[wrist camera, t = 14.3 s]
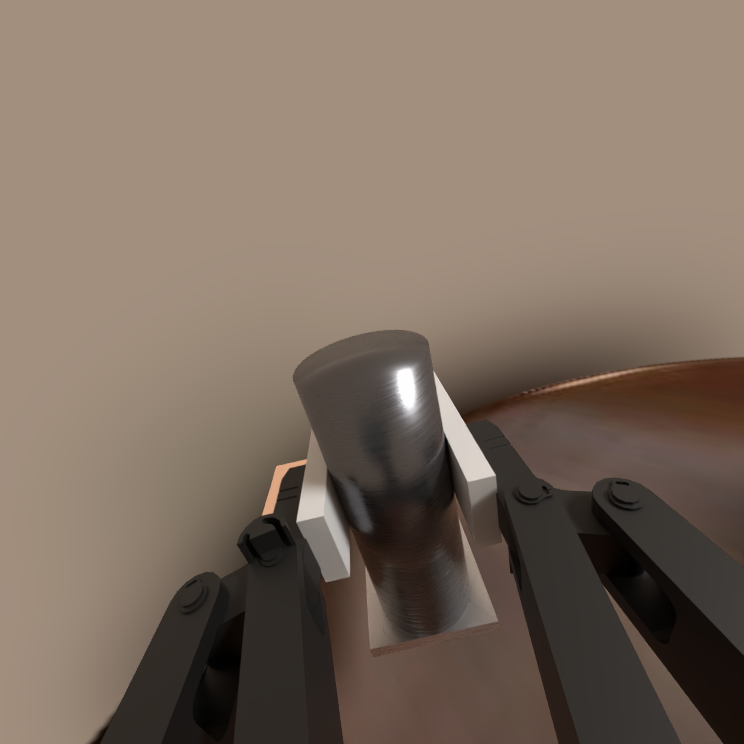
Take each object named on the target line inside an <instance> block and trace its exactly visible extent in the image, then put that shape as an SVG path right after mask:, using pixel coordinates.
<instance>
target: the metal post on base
mask: <svg viewBox="0 0 744 744" xmlns="http://www.w3.org/2000/svg"><path fill="white" fill-rule="evenodd" d="M293 381H294V384H295V386H296V389H297V391H298V394H299V397H300V399H301V402H302V404H303V407H304V409H305V412H306V415H307V417H308V420H309V422H310V425H311V427H312V430H313V432H314V435H315V438H316V440H317V443H318V445H319V448H320V450H321V453H322V456H323V458H324V461H325V463H326V466H327V468H328V471H329V473H330V476H331V478H332V481H333V484H334V486H335V489H336V491H337V494H338V496H339V499H340V502H341V504H342V507H343V509H344V512H345V514H346V517H347V519H348V522H349V525H350V527H351V530H352V532H353V535H354V538H355V540H356V543H357V545H358V548H359V550H360V553H361V555H362V558H363V561H364V563H365V569H366V587H367V605H368V623H369V641H370V651H371V653H372V655H373V657H377V656H381V655H386V654H390V653H395V652H400V651H404V650H409V649H413V648H418V647H422V646H427V645H432V644H436V643H441V642H445V641H450V640H455V639H459V638H464V637H468V636H473V635H477V634H482V633H487V632H491V631H496V630H499V623H498V619H497V617H496V614H495V611H494V609H493V606H492V604H491V601H490V598H489V596H488V593H487V590H486V588H485V585H484V583H483V580H482V577H481V575H480V572H479V570H478V567H477V564H476V562H475V559H474V557H473V554H472V551H471V549H470V546H469V544H468V541H467V538H466V536H465V533H464V531H463V528H462V525H461V523H460V520H459V518H458V512H457V506H456V500H455V494H454V489H453V483H452V477H451V471H450V465H449V460H448V454H447V448H446V442H445V436H444V430H443V425H442V419H441V413H440V407H439V401H438V395H437V390H436V384H435V378H434V372H433V366H432V361H431V355H430V349H429V344H428V341H427V339H426V338H425V337H423V336H422V335H420V334H418V333H415V332H411V331H403V330H385V331H376V332H370V333H364V334H360V335H357V336H352V337H349V338H346V339H343V340H340V341H337V342H335V343H333V344H330V345H328V346H326V347H324V348H322V349H320V350H318V351H316V352H315V353H313V354H311V355H310V356H309V357H307V358H306V359H305V360H303V361H302V362H301V363H300V364H299V365H298V367H297V368H296V369H295V371H294V374H293Z"/></svg>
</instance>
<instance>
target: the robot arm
mask: <svg viewBox="0 0 744 744" xmlns="http://www.w3.org/2000/svg"><path fill="white" fill-rule="evenodd" d="M434 378H435V384H436V390H437V395H438V401H439V407H440V413H441V419H442V425H443V430H444V436H445V442H446V448H447V454H448V460H449V465H450V471H451V477H452V483H453V489H454V492H455V494H456V497H457V499H458V502H459V504H460V507H461V509H462V512H463V514H464V517H465V519H466V522H467V524H468V527H469V529H470V532H471V534H472V536H473V539H474V541H475V544H476V546H477V548H479V547H484V546H488V545H492V544H497V543H501V542H502V538H501V532H502V534H503V536H504V538H505V540H506V542H507V544H508V550H509V562H510V573H513V574H514V577H515V581H516V585H517V589H518V592H519V596H520V600H521V604H522V607H523V611H524V615H525V619H526V622H527V626H528V630H529V634H530V638H531V641H532V645H533V649H534V653H535V656H536V660H537V664H538V668H539V671H540V675H541V679H542V683H543V686H544V690H545V694H546V698H547V701H548V705H549V709H550V713H551V716H552V720H553V724H554V728H555V731H556V735H557V739H558V743H559V744H681V742H680V740H679V738H678V736H677V734H676V732H675V730H674V728H673V726H672V724H671V722H670V720H669V718H668V716H667V714H666V712H665V710H664V708H663V706H662V704H661V702H660V700H659V698H658V696H657V694H656V692H655V690H654V688H653V686H652V684H651V682H650V680H649V678H648V676H647V674H646V672H645V670H644V668H643V666H642V664H641V661H640V659H639V657H638V655H637V653H636V651H635V649H634V647H633V645H632V643H631V641H630V639H629V637H628V635H627V633H626V631H625V629H624V627H623V625H622V623H621V621H620V619H619V617H618V615H617V613H616V611H615V609H614V607H613V605H612V603H611V601H610V599H609V597H608V595H607V593H606V591H605V589H604V587H605V588H606V589H607V591H608V592H609V593H610V595H611V596H612V597H613V598H614V600H615V601H616V602H617V604H618V605H619V606H620V608H621V609H622V610H623V612H624V613H625V614H626V616H627V617H628V618H629V620H630V621H631V622H632V624H633V625H634V626H635V627H636V629H637V630H638V631H639V633H640V634H641V635H642V637H643V638H644V639H645V641H646V642H647V643H648V645H649V646H650V647H651V649H652V650H653V651H654V653H655V654H656V655H657V657H658V658H659V659H660V660H661V662H662V663H663V664H664V666H665V667H666V668H667V670H668V671H669V672H670V674H671V675H672V676H673V678H674V679H675V680H676V682H677V683H678V684H679V686H680V687H681V688H682V690H683V691H684V692H685V693H686V695H687V696H688V697H689V699H690V700H691V701H692V703H693V704H694V705H695V707H696V708H697V709H698V711H699V712H700V713H701V715H702V716H703V717H704V719H705V720H706V721H707V722H708V724H709V725H710V726H711V728H712V729H713V730H714V732H715V733H716V734H717V736H718V737H719V738H720V740H721V741H722V742H723V744H744V567H742V566H741V565H740V564H739V563H738V562H736V561H735V560H734V559H733V558H732V557H730V556H729V555H728V554H727V553H725V552H724V551H723V550H722V549H721V548H719V547H718V546H717V545H716V544H715V543H713V542H712V541H711V540H710V539H709V538H707V537H706V536H705V535H704V534H702V533H701V532H700V531H699V530H698V529H696V528H695V527H694V526H693V525H692V524H690V523H689V522H688V521H687V520H686V519H684V518H683V517H682V516H681V515H679V514H678V513H677V512H676V511H675V510H673V509H672V508H671V507H670V506H669V505H667V504H666V503H665V502H664V501H663V500H661V499H660V498H659V497H658V496H656V495H655V494H654V493H653V492H652V491H650V490H649V489H647V488H646V487H644V486H642V485H641V484H639V483H636V482H633V481H630V480H628V479H621V478H606V479H603V480H601V481H599V482H597V483H596V484H595V486H594V487H593V490H592V492H585V491H566V490H560V489H556V488H553V487H552V485H550V484H549V483H547V482H546V481H544V480H542V479H539V478H536V477H535V476H534V474H533V473H532V472H531V470H530V469H529V468H528V466H527V465H526V464H525V462H524V461H523V460H522V458H521V457H520V456H519V454H518V453H517V452H516V450H515V449H514V448H513V446H511V444H510V442H509V441H508V440H507V438H505V436H504V434H503V433H502V432H501V430H500V429H499V428H498V427H497V426H496V425H494V424H492V423H491V422H489V421H487V420H484V421H479V422H475V423H471V424H467V425H465V423H464V421H463V420H462V418H461V416H460V415H459V413H458V411H457V410H456V408H455V406H454V405H453V403H452V401H451V400H450V398H449V396H448V394H447V393H446V391H445V389H444V388H443V386H442V384H441V383H440V381H439V380H438V378H437V376H436V374H435V373H434ZM276 501H277V502H276V503H275V507H274V511H273V513H271V514H267V515H263V516H261V517H259V518H257V519H255V520H254V521H253V522H252V523H250V524H249V525H248V526H247V527H246V528H245V529H244V531H243V532H242V534H241V535H240V537H239V540H238V543H237V545H238V547H239V548H240V550H241V552H242V553H243V555H244V556H245V558H246V560H247V561H248V564H247V565H245V566H243V567H242V568H240V569H238V570H236V571H235V572H233V573H231V574H229V575H227V576H225V577H224V578H222V579H220V578H219V577H218V576H217V575H216V574H215V573H213V572H205V573H202V574H199V575H197V576H195V577H193V578H192V579H191V580H189V581H188V582H186V583H185V584H184V585H183V586H182V587H181V588H180V589H179V591H178V592H177V593H176V595H175V596H174V597H173V599H172V601H171V602H170V604H169V606H168V608H167V610H166V612H165V614H164V616H163V618H162V620H161V622H160V624H159V626H158V628H157V630H156V632H155V634H154V636H153V638H152V641H151V642H150V645H149V646H148V648H147V651H146V652H145V655H144V656H143V659H142V660H141V662H140V665H139V667H138V668H137V671H136V673H135V675H134V677H133V679H132V681H131V683H130V685H129V687H128V689H127V691H126V693H125V695H124V697H123V699H122V701H121V703H120V705H119V707H118V709H117V711H116V713H115V715H114V717H113V719H112V721H111V723H110V725H109V727H108V729H107V731H106V733H105V735H104V737H103V739H102V741H101V743H100V744H344V743H343V736H342V728H341V721H340V713H339V705H338V698H337V690H336V683H335V675H334V667H333V660H332V652H331V645H330V637H329V630H328V622H327V614H326V607H325V599H324V596H323V593H322V591H321V589H320V578H321V573H322V575H323V577H324V579H325V581H326V582H330V581H334V580H339V579H343V578H347V577H350V534H349V522H348V519H347V517H346V514H345V512H344V509H343V507H342V504H341V502H340V499H339V496H338V494H337V491H336V489H335V486H334V484H333V481H332V478H331V476H330V473H329V471H328V468H327V466H326V463H325V461H324V458H323V456H322V453H321V450H320V448H319V445H318V443H317V440H316V438H315V435H314V432H313V430H312V432H311V438H310V444H309V450H308V455H307V461H306V464H305V465H300V466H296V467H292V468H289V469H288V471H287V472H286V474H285V475H284V477H283V478H282V480H281V484H280V488H279V493H278V496H277V500H276ZM602 584H603V585H604V587H603V585H602Z"/></svg>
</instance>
